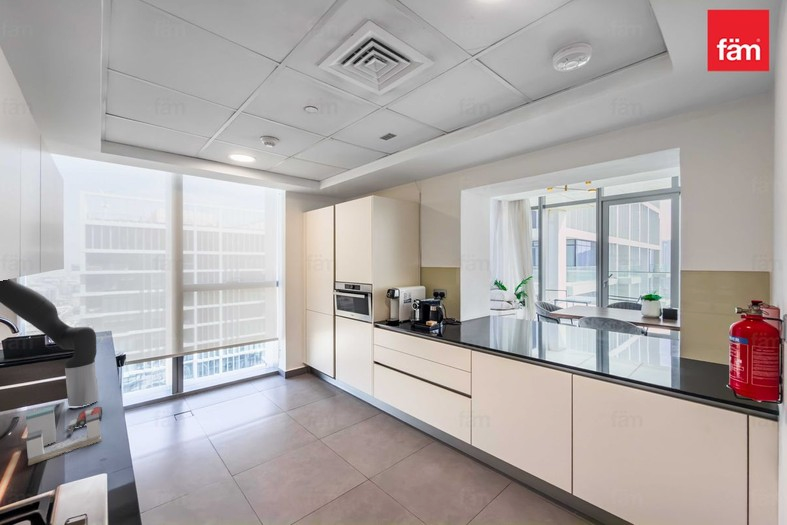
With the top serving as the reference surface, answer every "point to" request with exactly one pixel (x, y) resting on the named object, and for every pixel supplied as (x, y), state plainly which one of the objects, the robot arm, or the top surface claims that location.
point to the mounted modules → (36, 437)
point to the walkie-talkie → (84, 418)
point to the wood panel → (62, 451)
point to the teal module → (42, 424)
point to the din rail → (64, 445)
